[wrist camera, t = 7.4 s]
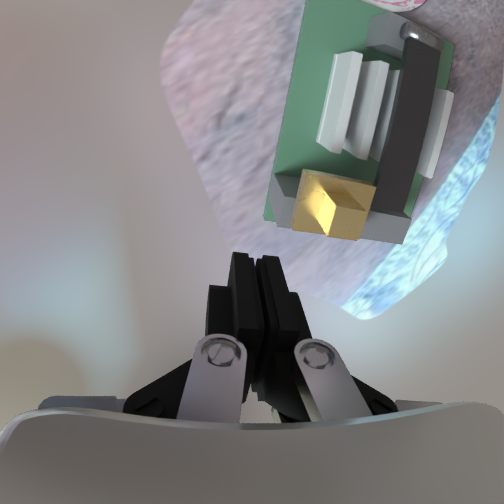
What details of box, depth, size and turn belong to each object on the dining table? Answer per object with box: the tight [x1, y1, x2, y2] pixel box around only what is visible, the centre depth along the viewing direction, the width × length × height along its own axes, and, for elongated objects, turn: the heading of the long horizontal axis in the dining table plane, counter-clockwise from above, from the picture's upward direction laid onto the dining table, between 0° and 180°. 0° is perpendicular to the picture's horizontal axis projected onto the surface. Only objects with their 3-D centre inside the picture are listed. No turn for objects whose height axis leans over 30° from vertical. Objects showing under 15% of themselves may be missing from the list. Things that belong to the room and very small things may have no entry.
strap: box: [371, 21, 444, 213], centre depth 19 cm, size 15×3×2 cm, turn 170°
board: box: [263, 0, 454, 245], centre depth 23 cm, size 22×15×7 cm
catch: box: [290, 169, 376, 241], centre depth 20 cm, size 4×5×3 cm
